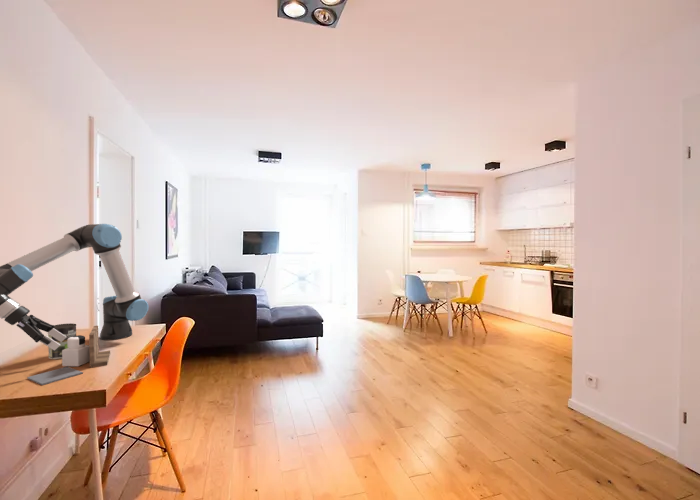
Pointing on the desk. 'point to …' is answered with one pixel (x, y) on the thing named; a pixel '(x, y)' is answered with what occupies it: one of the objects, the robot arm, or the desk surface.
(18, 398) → the desk surface
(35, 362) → the desk surface
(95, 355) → the walnut backboard
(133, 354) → the desk surface
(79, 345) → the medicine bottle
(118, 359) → the desk surface
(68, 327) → the coffee can
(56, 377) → the charcoal mat
